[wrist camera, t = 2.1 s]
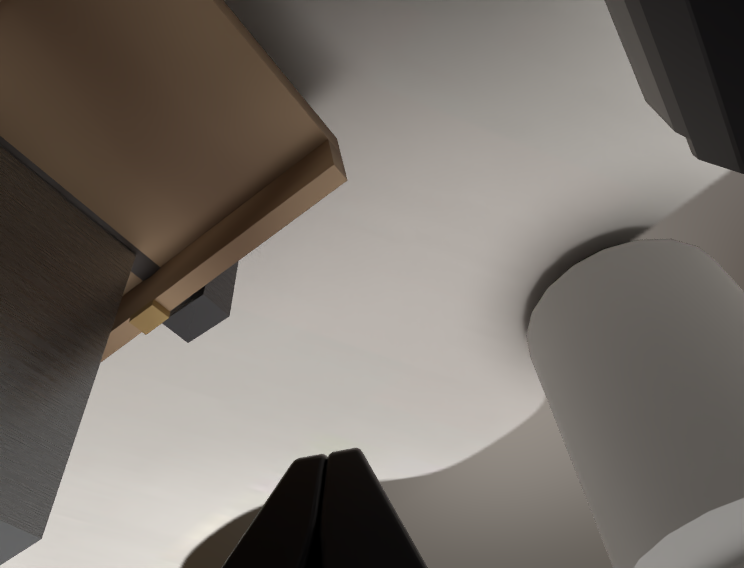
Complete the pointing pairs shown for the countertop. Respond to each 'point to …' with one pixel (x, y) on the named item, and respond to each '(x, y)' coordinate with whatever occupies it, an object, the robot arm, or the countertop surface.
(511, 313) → the countertop surface
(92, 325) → the steel block
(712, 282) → the can
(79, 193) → the beam
